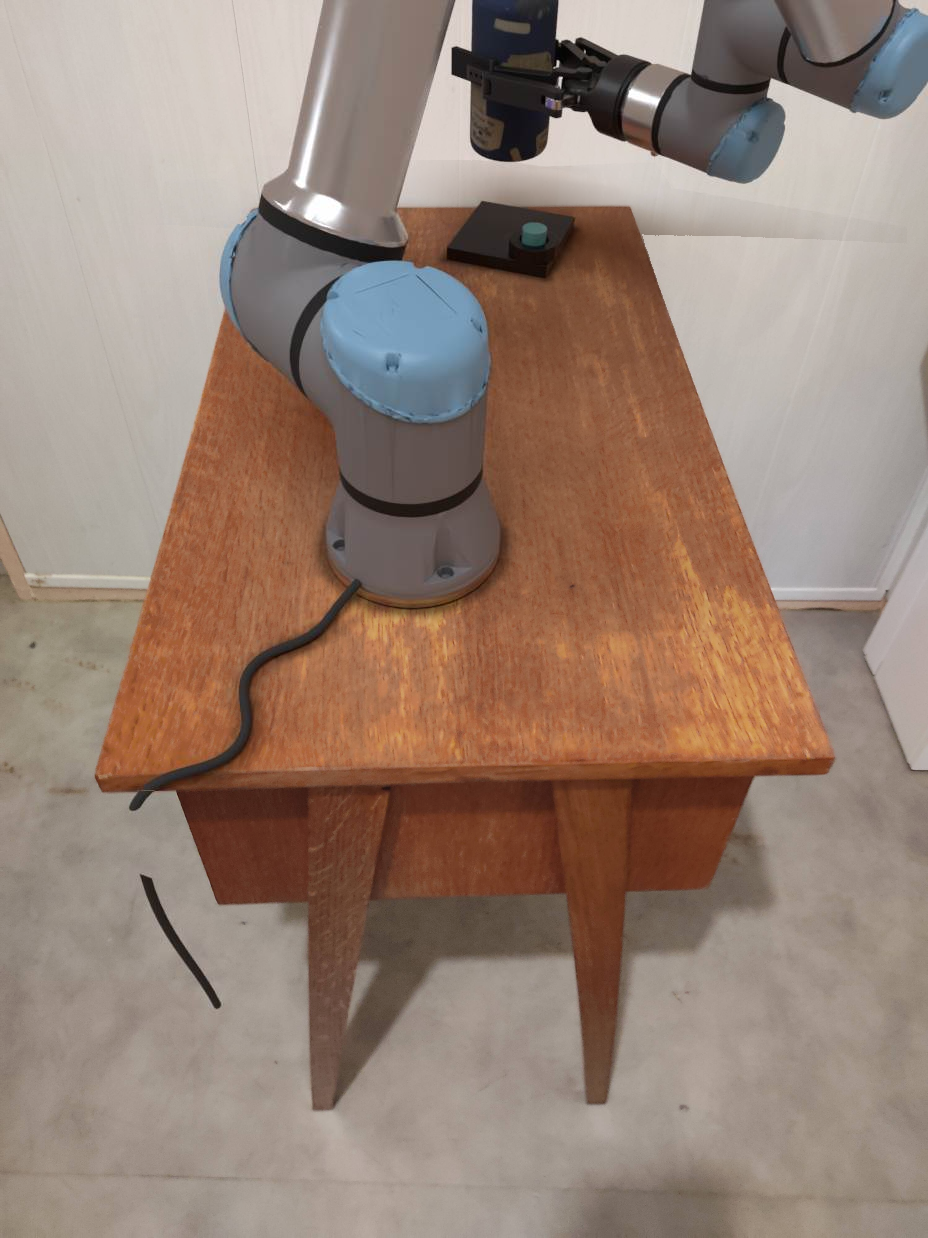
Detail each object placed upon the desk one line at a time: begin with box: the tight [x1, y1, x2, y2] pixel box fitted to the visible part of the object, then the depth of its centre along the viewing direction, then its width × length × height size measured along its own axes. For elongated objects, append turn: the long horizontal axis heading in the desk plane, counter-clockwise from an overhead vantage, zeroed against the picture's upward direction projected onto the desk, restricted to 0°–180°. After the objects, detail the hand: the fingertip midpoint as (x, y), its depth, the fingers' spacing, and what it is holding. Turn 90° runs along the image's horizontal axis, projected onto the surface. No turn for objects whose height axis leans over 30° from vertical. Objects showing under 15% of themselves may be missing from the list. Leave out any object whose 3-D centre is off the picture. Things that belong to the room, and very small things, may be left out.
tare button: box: [522, 223, 547, 246], centre depth 107 cm, size 3×3×2 cm
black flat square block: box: [446, 200, 576, 279], centre depth 112 cm, size 14×14×4 cm
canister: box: [469, 0, 560, 163], centre depth 100 cm, size 10×10×18 cm
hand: (484, 49), depth 102 cm, fingers closed on canister, 9 cm apart
